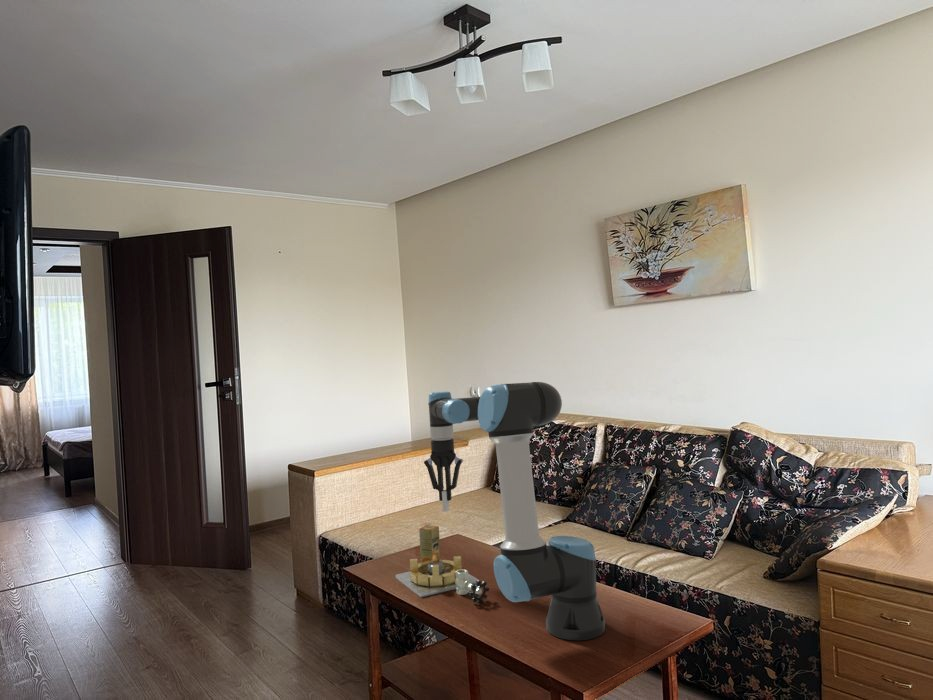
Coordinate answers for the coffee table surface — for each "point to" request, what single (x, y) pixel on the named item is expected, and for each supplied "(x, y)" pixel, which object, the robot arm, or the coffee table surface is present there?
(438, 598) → the coffee table surface
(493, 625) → the coffee table surface
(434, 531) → the shoe polish box
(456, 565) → the tan toothed ring
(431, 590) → the hub plate
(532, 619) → the coffee table surface
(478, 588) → the valve
